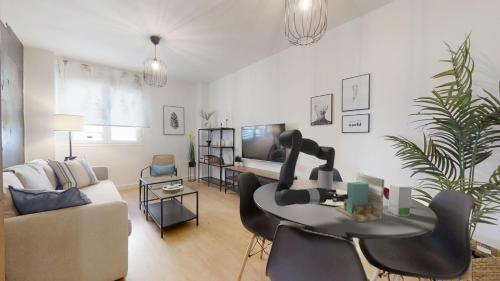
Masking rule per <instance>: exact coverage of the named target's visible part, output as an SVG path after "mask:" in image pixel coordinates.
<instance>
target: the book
mask: <svg viewBox="0 0 500 281" xmlns="http://www.w3.org/2000/svg"><path fill="white" fill-rule="evenodd" d="M346 185H347V187H346V188H347V189H346V194H348V199H346V201H345V202H346V211H348V212H350V213H352V214H353V212H354V206H363V205H368V188H369V184H368V183H364V182H356V181H353V182H347V184H346Z"/></svg>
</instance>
